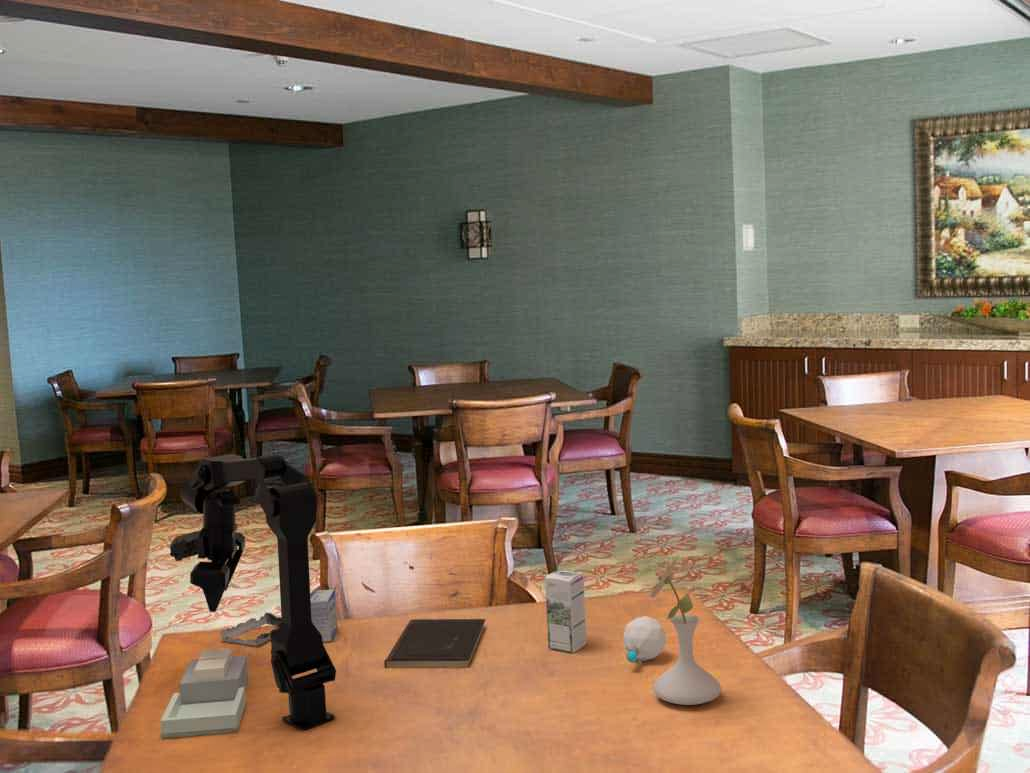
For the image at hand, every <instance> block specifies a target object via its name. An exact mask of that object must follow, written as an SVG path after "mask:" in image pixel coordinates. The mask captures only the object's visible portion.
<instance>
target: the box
mask: <svg viewBox="0 0 1030 773" xmlns="http://www.w3.org/2000/svg"><path fill="white" fill-rule="evenodd" d="M246 705H247V701H246V688H245V687H241V688H239V689H238V692H237V695H236V698H235V700H232V701H220V702H209V703H197V704H185V705H181V695H180V692H173V694H172V696H171V699H170V700H169V702H168V704H167V707H166V709H165V710H164V713H163V714H162V717H161V719H160V722H159V723H160V733H161V734H160V735H161V739H171V738H186V737H196V736H197V737H198V736H207V735H216V734H217V735H218V734H219V735H221V734H231V733H238V730H239V727H240V724H241V721H242V718H243V714H244V711H245V709H246Z"/></svg>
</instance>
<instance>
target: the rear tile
mask: <svg viewBox="0 0 1030 773" xmlns="http://www.w3.org/2000/svg"><path fill="white" fill-rule="evenodd" d="M232 656H233V649H232V647H224V648H223V647H222V648H211V649H203V650H202V652H201V654H200V657H199V658H198V659H199V660H208V659H221V658H227V659H228V668H229V665H230V663H231V660H232Z"/></svg>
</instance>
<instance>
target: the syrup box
mask: <svg viewBox="0 0 1030 773" xmlns="http://www.w3.org/2000/svg"><path fill="white" fill-rule="evenodd" d="M544 587H545V588H544V589H545V610H546V628H547V648H548V649H549V650H553V651H554V650H555V651H561V652H566V653H571V654H574V653H576V652H577V651H579V650H580V649H582V648H583V647H585V646H586V645H587V641H588V640H587V627H586V603H585V599H586V598H585V576H584V573H583V572H578V571H577V572H576V571H571V570H570V571H569V570H563V569H562V570H561V569H557V570H555V571H552V572H551V573H549V574H547V575H546V576H545V577H544Z"/></svg>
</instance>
